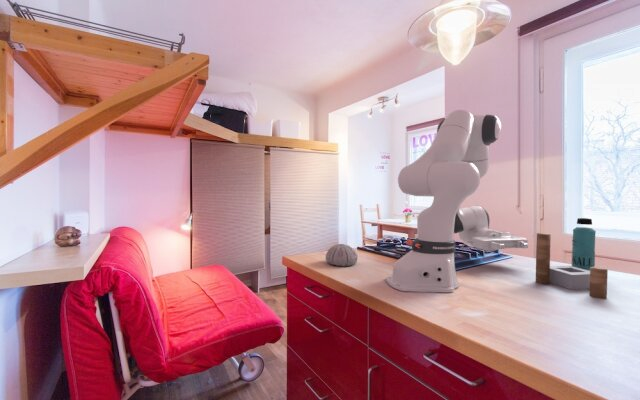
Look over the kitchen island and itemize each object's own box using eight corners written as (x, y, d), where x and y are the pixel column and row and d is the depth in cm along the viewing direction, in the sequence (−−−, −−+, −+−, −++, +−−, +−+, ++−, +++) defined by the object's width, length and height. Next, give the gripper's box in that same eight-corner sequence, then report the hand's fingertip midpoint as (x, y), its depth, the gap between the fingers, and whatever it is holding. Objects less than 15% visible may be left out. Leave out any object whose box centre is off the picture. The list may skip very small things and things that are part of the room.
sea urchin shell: (347, 258, 131) (347, 240, 131) (364, 265, 119) (364, 246, 118) (319, 261, 125) (319, 243, 125) (335, 269, 113) (335, 248, 113)
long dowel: (542, 284, 94) (543, 234, 94) (532, 281, 98) (533, 233, 97) (552, 284, 95) (553, 234, 94) (542, 280, 98) (543, 233, 98)
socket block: (571, 289, 90) (571, 274, 90) (542, 279, 100) (543, 266, 100) (600, 288, 91) (600, 273, 91) (569, 278, 101) (569, 265, 101)
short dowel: (599, 298, 82) (599, 270, 82) (585, 294, 86) (586, 267, 85) (610, 298, 83) (611, 269, 82) (596, 293, 86) (597, 266, 86)
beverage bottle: (585, 270, 111) (586, 217, 111) (600, 275, 105) (601, 219, 104) (566, 270, 112) (568, 217, 111) (580, 275, 105) (581, 218, 105)
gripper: (465, 232, 120) (488, 238, 107) (511, 232, 123) (539, 237, 109) (464, 248, 121) (487, 255, 107) (510, 247, 123) (539, 254, 109)
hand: (514, 246), depth 108 cm, fingers open, 8 cm apart
